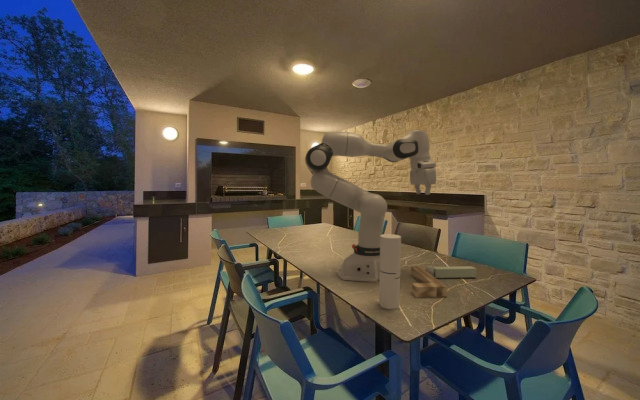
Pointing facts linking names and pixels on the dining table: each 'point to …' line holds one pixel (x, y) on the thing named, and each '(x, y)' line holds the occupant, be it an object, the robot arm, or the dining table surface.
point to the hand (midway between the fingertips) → (423, 194)
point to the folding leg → (451, 271)
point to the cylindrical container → (390, 271)
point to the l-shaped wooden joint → (426, 284)
